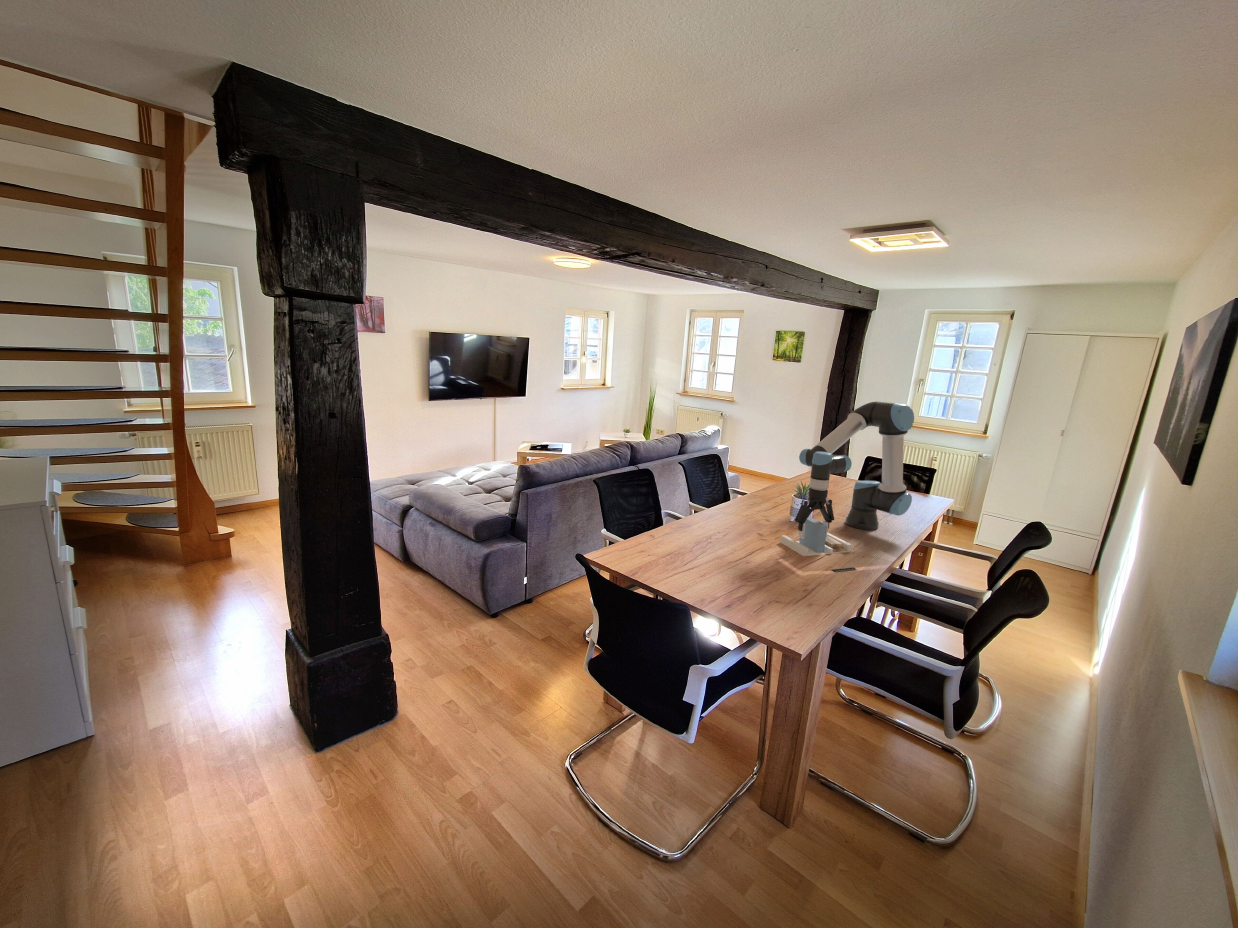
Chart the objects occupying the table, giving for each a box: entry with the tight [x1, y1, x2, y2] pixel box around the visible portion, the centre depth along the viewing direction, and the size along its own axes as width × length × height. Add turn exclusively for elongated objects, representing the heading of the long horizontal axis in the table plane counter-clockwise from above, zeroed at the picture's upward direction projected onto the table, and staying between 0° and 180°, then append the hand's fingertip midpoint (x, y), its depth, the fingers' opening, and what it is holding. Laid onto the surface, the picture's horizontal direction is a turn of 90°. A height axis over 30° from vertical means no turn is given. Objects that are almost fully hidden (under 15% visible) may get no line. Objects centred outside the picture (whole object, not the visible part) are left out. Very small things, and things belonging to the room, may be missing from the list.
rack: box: [780, 531, 853, 557], centre depth 214 cm, size 24×16×4 cm, turn 106°
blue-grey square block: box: [798, 516, 828, 553], centre depth 212 cm, size 4×12×12 cm, turn 16°
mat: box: [831, 567, 857, 574], centre depth 199 cm, size 10×14×1 cm
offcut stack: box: [825, 536, 845, 552], centre depth 216 cm, size 6×14×3 cm, turn 16°
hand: (812, 536), depth 213 cm, fingers open, 11 cm apart
